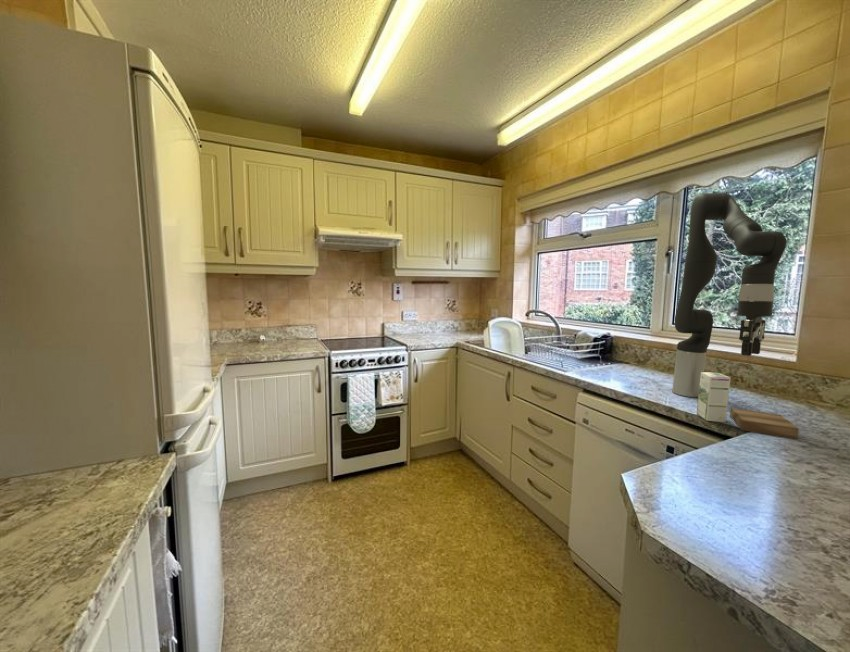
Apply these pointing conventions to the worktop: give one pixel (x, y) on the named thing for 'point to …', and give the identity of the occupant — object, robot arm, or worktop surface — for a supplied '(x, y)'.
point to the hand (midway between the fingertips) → (750, 354)
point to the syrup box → (713, 396)
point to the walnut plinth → (764, 423)
